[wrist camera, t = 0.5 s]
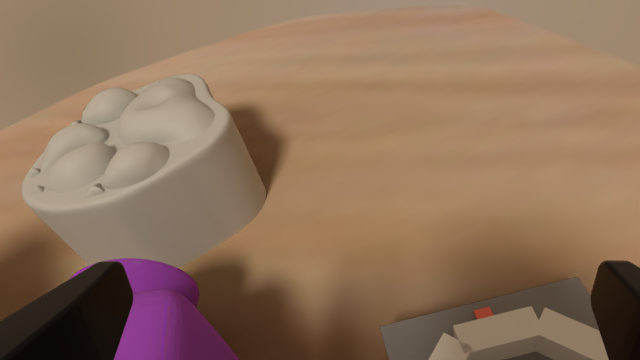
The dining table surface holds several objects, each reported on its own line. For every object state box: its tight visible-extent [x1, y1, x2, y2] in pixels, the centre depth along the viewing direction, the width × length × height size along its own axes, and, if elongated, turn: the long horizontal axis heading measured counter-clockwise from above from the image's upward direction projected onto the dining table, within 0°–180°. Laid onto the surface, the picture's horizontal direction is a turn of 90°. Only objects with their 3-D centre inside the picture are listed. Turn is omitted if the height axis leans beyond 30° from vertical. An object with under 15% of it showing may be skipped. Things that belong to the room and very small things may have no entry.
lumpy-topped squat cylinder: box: [22, 74, 266, 268], centre depth 31 cm, size 10×13×9 cm
